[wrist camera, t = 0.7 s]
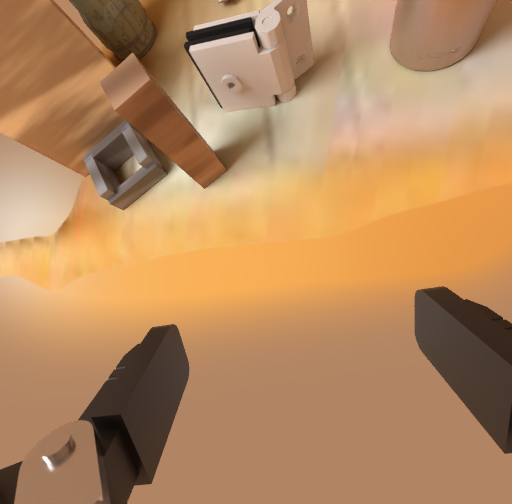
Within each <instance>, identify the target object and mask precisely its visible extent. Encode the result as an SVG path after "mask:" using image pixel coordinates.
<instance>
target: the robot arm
mask: <svg viewBox="0 0 512 504" xmlns="http://www.w3.org/2000/svg"><path fill="white" fill-rule="evenodd" d="M496 2H497V0H397V5H396V10H395V16H394V22H393V28H392V33H391V39H390V49H391V53H392V55H393V57H394V58H395V59H396V60H397V61H398V62H399V63H400V64H401V65H403V66H405V67H407V68H410V69H413V70H419V71H432V70H437V69H442V68H445V67H447V66H450V65H452V64H454V63H456V62H458V61H459V60H461V59H462V58H463V57H465V56H466V55H467V54H468V53H469V52H470V51H471V50H472V48H473V47H474V46H475V44H476V42H477V40H478V38H479V36H480V34H481V32H482V30H483V28H484V26H485V24H486V22H487V20H488V18H489V16H490V14H491V12H492V10H493V8H494V6H495V4H496ZM415 336H416V340H417V343H418V345H419V348H420V349H421V351H422V352H423V353H424V355H425V356H426V357H427V358H428V360H429V361H430V362H431V363H432V365H433V366H434V367H435V368H436V370H437V371H438V372H439V373H440V374H441V376H442V377H443V378H444V379H445V381H446V382H447V383H448V384H449V386H450V387H451V388H452V389H453V391H454V392H455V393H456V394H457V395H458V397H459V398H460V399H461V400H462V401H463V403H464V404H465V405H466V407H467V408H468V409H469V410H470V411H471V413H472V414H473V415H474V416H475V418H476V419H477V420H478V421H479V422H480V424H481V425H482V426H483V428H484V429H485V430H486V431H487V432H488V433H489V435H490V436H491V437H492V438H493V440H494V441H495V442H496V444H497V445H498V446H499V447H500V448H501V449H502V451H503V452H504V453H505V454H506V453H512V324H511V323H510V322H509V321H507V320H503V317H501V316H499V315H498V314H497V313H495V312H493V311H492V310H490V309H489V308H488V307H486V306H483V305H480V304H477V303H475V302H472V301H470V300H467V299H466V300H463V299H462V298H460V297H459V296H458V295H456V294H455V293H453V292H452V291H451V290H449V289H448V288H446V287H443V286H442V287H435V288H428V289H421V290H417V291H416V293H415ZM188 376H189V363H188V359H187V356H186V353H185V349H184V346H183V343H182V340H181V336H180V333H179V330H178V328H177V326H176V325H174V324H172V325H165V326H158V327H152V328H151V329H150V331H149V332H148V333H147V335H146V336H145V338H144V339H143V341H142V342H141V344H137V345H136V346H135V347H134V348H133V349H131V350H130V351H129V352H128V353H127V354H126V355H125V356H124V357H123V358H122V360H121V361H120V363H119V364H118V365H117V367H116V370H114V371H113V372H112V374H111V375H110V376H109V380H107V381H106V382H105V383H104V385H103V386H102V388H101V389H100V390H99V392H98V393H97V395H96V396H95V397H94V399H93V400H92V402H91V403H90V404H89V406H88V407H87V409H86V410H85V411H84V413H83V414H82V415H81V417H80V418H79V420H78V421H74V422H70V423H67V424H65V425H63V426H61V427H59V428H57V429H55V430H54V431H52V432H51V433H49V434H48V435H46V436H45V437H44V438H43V439H42V440H40V441H39V442H38V443H37V444H36V445H35V446H34V447H33V448H32V450H31V451H30V452H29V453H28V454H27V456H26V457H25V459H24V460H23V461H21V462H19V463H16V464H14V465H11V466H9V467H6V468H3V469H1V470H0V504H131V503H130V501H129V497H130V494H131V492H132V489H133V487H134V485H144V484H151V483H152V481H153V478H154V475H155V472H156V469H157V466H158V464H159V461H160V458H161V455H162V452H163V449H164V446H165V444H166V441H167V438H168V435H169V432H170V430H171V427H172V424H173V421H174V418H175V415H176V412H177V410H178V406H179V404H180V401H181V398H182V395H183V392H184V389H185V387H186V384H187V381H188Z"/></svg>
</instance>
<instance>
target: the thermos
mask: <svg viewBox="0 0 512 504" xmlns="http://www.w3.org/2000/svg"><path fill="white" fill-rule="evenodd" d="M69 1H70V2H71V3H72V4H73V5H74V6H75V8H76V9H77V10H78V11H79V13H80V15H81V17H82V19H83V21H84V23H85V24H86V25H87V26H88V27H89V29H90V30H91V31H92V32H93V33H94V34H95V35H96V36H97V37H98V38H99V40H100V41H101V42H102V43H103V44H104V45H105V46H106V47H107V48H108V49H110V50H111V51H112V52H113V53H114V55H115V56H116V57H117V58H118V59H119V60H120V61H121V62H123V61H124V60H125V59H126V58H127V57H128V56H129V55H131V54H132V53H134V55H135V56H136V57H137V58H138V59H140V58H141V57H143V56H144V55H145V54H146V53H147V52H148V51H149V50H150V48H151V47H152V45H153V43H154V40H155V37H156V30H155V27H154V25H153V23H152V22H151V21H150V19H149V18H148V17H147V15H146V12H145V9H144V8H143V6H142V5H141V3H140V2H139V0H69Z"/></svg>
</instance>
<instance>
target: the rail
mask: <svg viewBox="0 0 512 504" xmlns="http://www.w3.org/2000/svg"><path fill="white" fill-rule="evenodd" d="M100 85H101V86H102V88H103V90H104V92H105V94H106V96H107V97H108V99H109V101H110V103H111V105H112V106H113V108H114V110H115V111H116V112H117V113H118V114H119V115H121V116H122V117H123V118H124V119H125V120H126V121H127V122H129V123H130V124H131V125H132V126H133V127H134V128H135V129H137V130H138V131H139V132H140V133H141V134H142V135H143V136H145V137H146V138H147V139H148V140H149V141H150V142H151V143H153V144H154V145H155V146H156V147H157V148H158V149H160V150H161V151H162V152H163V153H164V154H165V155H166V156H168V157H169V158H170V159H171V160H172V161H173V162H174V163H176V164H177V165H178V166H179V167H180V168H181V169H182V170H184V171H185V172H186V173H187V174H188V175H189V176H190V177H192V178H193V179H194V180H195V181H196V182H197V183H198V184H200V185H201V186H202V187H203V188H206V187H207V186H208V185H210V184H211V183H212V182H213V181H215V180H216V179H217V178H219V177H220V176H221V175H222V174H224V173H225V172H226V171H227V170H226V168H225V167H224V166H223V164H222V163H221V161H220V160H219V158H218V157H217V155H216V154H215V152H214V151H213V150H212V149H211V147H210V146H209V145H208V144H207V143H206V141H205V140H204V139H203V138H202V136H201V135H200V134H199V133H198V132H197V130H196V129H195V128H194V127H193V125H192V124H191V123H190V122H189V121H188V119H187V118H186V117H185V116H184V114H183V113H182V112H181V111H180V110H179V108H178V107H177V106H176V105H175V103H174V102H173V101H172V100H171V99H170V97H169V96H168V95H167V94H166V93H165V91H164V90H163V89H162V88H161V86H160V85H159V84H158V83H157V82H156V80H155V79H154V78H153V77H152V75H151V74H150V73H149V72H148V71H147V69H146V68H145V67H144V66H143V64H142V63H141V62H140V61H139V60H138V58H137V57H136V56H135V55H134V53H132V54H131V55H129V56H128V57H127V58H126V59H125V60H124V61H123V62H122V63H121V64H120V65H118V66H117V67H116V68H115V69H114V70H113V71H112V72H111V73H110V74H108V75H107V76H106V77H105V78H104V79H103V80H102V81H101V82H100Z"/></svg>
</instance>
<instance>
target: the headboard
mask: <svg viewBox="0 0 512 504" xmlns="http://www.w3.org/2000/svg"><path fill="white" fill-rule="evenodd" d="M115 68H116V67H115V66H114V64H113V63H112V62H111V61H110V60H109V59H108V58H107V57H106V56H105V55H104V54H103V53H102V52H101V51H100V50H99V48H98V47H97V46H96V45H95V44H94V43H93V42H92V41H91V40H90V39H89V38H88V37H87V36H86V35H85V34H84V33H83V31H82V30H80V28H79V27H78V26H77V25H76V24H75V23H74V22H73V21H72V20H71V19H70V18H69V16H68V15H67V14H66V13H65V12H64V11H63V10H62V9H61V8H60V7H59V6H58V5H57V4H56V3H55V2H54V1H53V0H0V133H2V134H4V135H6V136H8V137H10V138H12V139H14V140H16V141H17V142H19V143H21V144H23V145H25V146H27V147H29V148H31V149H33V150H35V151H37V152H39V153H41V154H42V155H44V156H46V157H48V158H50V159H52V160H54V161H56V162H58V163H60V164H62V165H64V166H66V167H68V168H70V169H72V170H73V171H75V172H77V173H79V174H81V175H83V176H87V175H88V174H89V173H90V175H91V178H92V180H93V182H94V184H95V187H96V189H97V191H98V193H99V196H100V197H103V198H105V199H107V200H109V203H110V204H111V205H113V206H115V207H118V208H120V209H122V210H124V209H125V208H126V207H128V206H129V205H130V204H131V203H133V202H134V201H135V200H136V199H137V198H139V197H140V196H141V195H142V194H144V193H145V192H146V191H147V190H149V189H150V188H151V187H152V186H154V185H155V184H156V183H157V182H159V181H160V180H161V179H162V178H163V177H165V176H166V175H167V173H166V171H165V170H164V168H163V166H162V164H161V163H160V161H159V159H158V157H157V156H156V154H155V152H154V151H153V149H152V147H151V145H150V144H149V142H148V140H147V138H146V137H145V136H143V135H142V134H141V133H140V132H139V131H138V130H137V129H135V128H134V127H133V126H132V125H131V124H130V123H129V122H127V121H126V120H125V119H124V118H123V117H122V116H121V115H119V114H118V113H117V112H116V111H115V110H114V108H113V106H112V105H111V103H110V101H109V99H108V97H107V96H106V94H105V92H104V90H103V88H102V86H101V85H100V82H101V81H102V80H103V79H104V78H105V77H106V76H107V75H108V74H110V73H111V72H112V71H113V70H114V69H115ZM133 154H134V155H135V157H136V159H137V161H138V163H139V164H140V165H142V166H143V167H142V168H141V169H139V170H138V171H137V172H136V173H135V174H133V175H132V176H131V177H130V178H128V179H127V180H126V181H125V182H124V183H122V184H120V182H119V180H118V178H117V175H116V173H115V171H114V170H115V169H117V168H118V167H119V166H120V165H121V164H123V163H124V162H125V161H126V160H127V159H129V158H130V157H131V156H132V155H133Z"/></svg>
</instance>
